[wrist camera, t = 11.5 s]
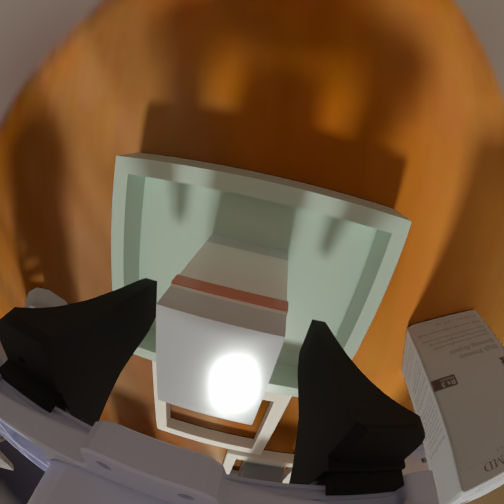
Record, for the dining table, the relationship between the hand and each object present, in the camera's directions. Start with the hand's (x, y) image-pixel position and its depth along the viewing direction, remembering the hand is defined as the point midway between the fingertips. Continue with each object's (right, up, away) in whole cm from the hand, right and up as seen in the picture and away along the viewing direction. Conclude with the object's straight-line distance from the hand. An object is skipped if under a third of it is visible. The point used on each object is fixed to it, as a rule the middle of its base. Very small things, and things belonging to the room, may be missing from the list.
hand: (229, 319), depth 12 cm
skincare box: (+14, -3, +4) cm, 15 cm away
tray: (+1, +1, +4) cm, 4 cm away
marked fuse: (0, +1, +3) cm, 3 cm away
